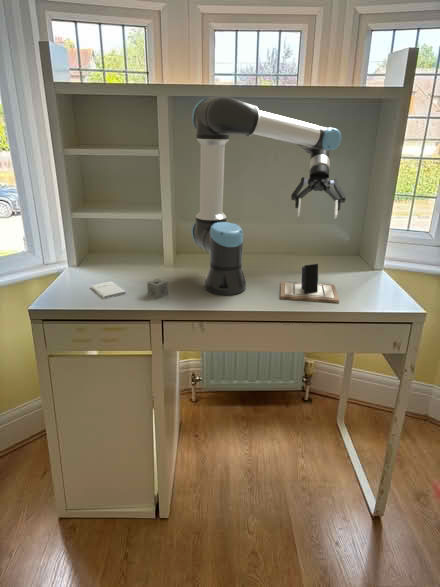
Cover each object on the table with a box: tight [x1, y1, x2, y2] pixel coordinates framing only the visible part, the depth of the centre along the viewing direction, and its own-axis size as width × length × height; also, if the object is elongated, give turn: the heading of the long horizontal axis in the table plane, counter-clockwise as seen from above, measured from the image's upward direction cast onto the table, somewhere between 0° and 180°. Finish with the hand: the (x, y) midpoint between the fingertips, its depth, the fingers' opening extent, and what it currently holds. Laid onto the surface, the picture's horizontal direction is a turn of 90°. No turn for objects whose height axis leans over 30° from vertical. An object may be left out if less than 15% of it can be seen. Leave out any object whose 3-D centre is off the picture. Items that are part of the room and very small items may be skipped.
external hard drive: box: [90, 281, 127, 299], centre depth 151 cm, size 2×8×12 cm
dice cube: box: [146, 278, 169, 300], centre depth 147 cm, size 5×5×5 cm
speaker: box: [301, 263, 319, 294], centre depth 150 cm, size 8×6×10 cm
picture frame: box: [279, 280, 340, 304], centre depth 152 cm, size 20×15×1 cm
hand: (317, 215), depth 156 cm, fingers open, 13 cm apart
